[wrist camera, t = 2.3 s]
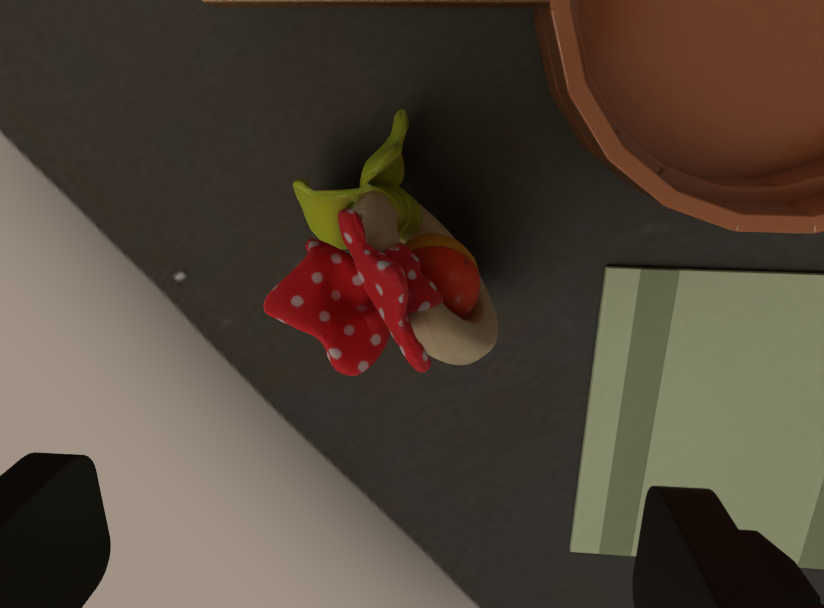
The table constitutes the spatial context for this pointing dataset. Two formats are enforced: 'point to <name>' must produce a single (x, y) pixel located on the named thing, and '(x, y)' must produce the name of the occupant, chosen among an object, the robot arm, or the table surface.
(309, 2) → the pan handle
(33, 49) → the table surface
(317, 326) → the bird rattle
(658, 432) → the towel
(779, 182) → the pan
